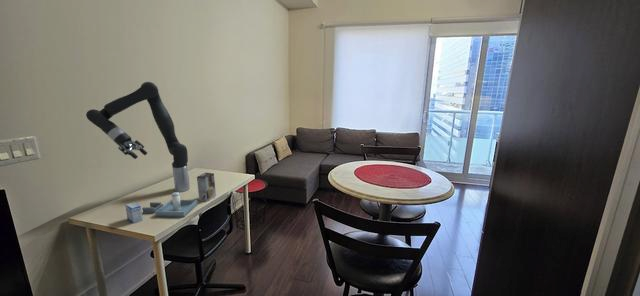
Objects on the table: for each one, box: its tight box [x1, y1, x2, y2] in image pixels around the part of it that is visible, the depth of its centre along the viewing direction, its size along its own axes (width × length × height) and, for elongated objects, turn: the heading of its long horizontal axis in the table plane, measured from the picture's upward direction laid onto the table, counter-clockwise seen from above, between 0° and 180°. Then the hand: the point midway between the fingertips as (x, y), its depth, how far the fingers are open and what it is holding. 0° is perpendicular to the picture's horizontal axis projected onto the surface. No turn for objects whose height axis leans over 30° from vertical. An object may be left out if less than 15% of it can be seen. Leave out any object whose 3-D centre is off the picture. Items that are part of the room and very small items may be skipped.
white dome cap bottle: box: [171, 191, 181, 211], centre depth 156 cm, size 4×4×10 cm
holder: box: [141, 201, 164, 214], centre depth 158 cm, size 8×7×3 cm
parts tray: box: [154, 199, 198, 218], centre depth 158 cm, size 16×16×3 cm
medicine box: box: [125, 202, 143, 224], centre depth 146 cm, size 8×4×9 cm, turn 56°
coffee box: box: [196, 172, 217, 202], centre depth 173 cm, size 9×6×16 cm
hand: (141, 156), depth 159 cm, fingers open, 8 cm apart
